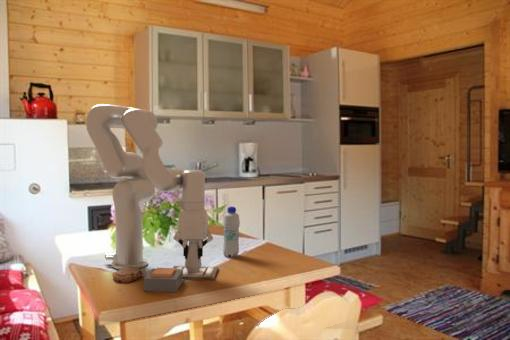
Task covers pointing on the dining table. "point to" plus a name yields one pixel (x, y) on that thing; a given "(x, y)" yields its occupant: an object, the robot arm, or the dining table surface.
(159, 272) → the button
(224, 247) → the bottle
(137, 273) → the cookie
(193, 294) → the dining table surface
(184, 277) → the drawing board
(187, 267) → the salt shaker
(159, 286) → the button housing
